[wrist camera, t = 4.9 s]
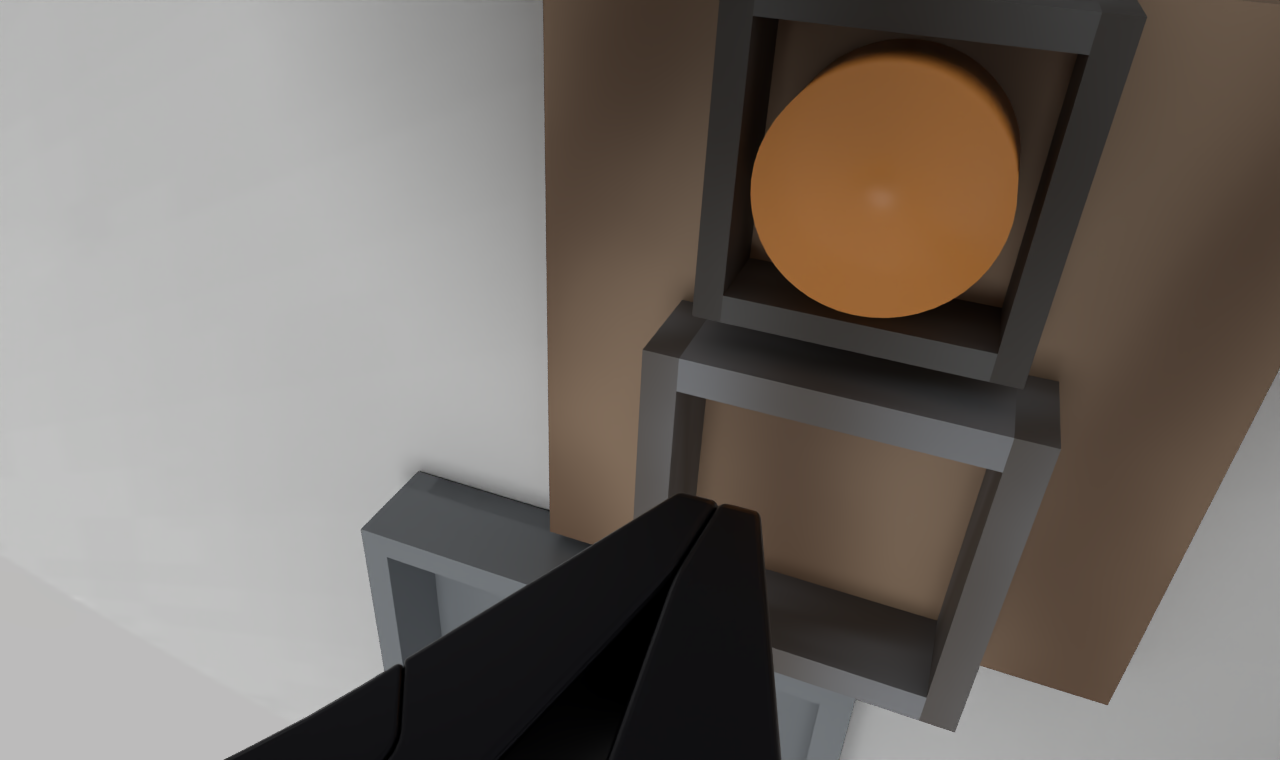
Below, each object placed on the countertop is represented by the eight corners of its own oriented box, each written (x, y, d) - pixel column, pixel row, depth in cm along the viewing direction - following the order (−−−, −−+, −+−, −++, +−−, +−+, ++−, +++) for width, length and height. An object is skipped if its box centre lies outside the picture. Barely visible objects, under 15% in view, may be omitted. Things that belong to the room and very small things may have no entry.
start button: (1051, 55, 15) (1053, 85, 13) (985, 286, 17) (978, 341, 15) (799, 24, 16) (766, 48, 14) (769, 245, 19) (738, 290, 17)
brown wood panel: (1428, 9, 14) (1531, 53, 11) (1104, 668, 22) (1114, 793, 19) (568, -71, 18) (476, -55, 15) (567, 506, 27) (508, 589, 24)
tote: (875, 610, 24) (856, 694, 22) (799, 893, 32) (779, 977, 30) (418, 471, 28) (360, 529, 26) (450, 751, 36) (408, 815, 34)
